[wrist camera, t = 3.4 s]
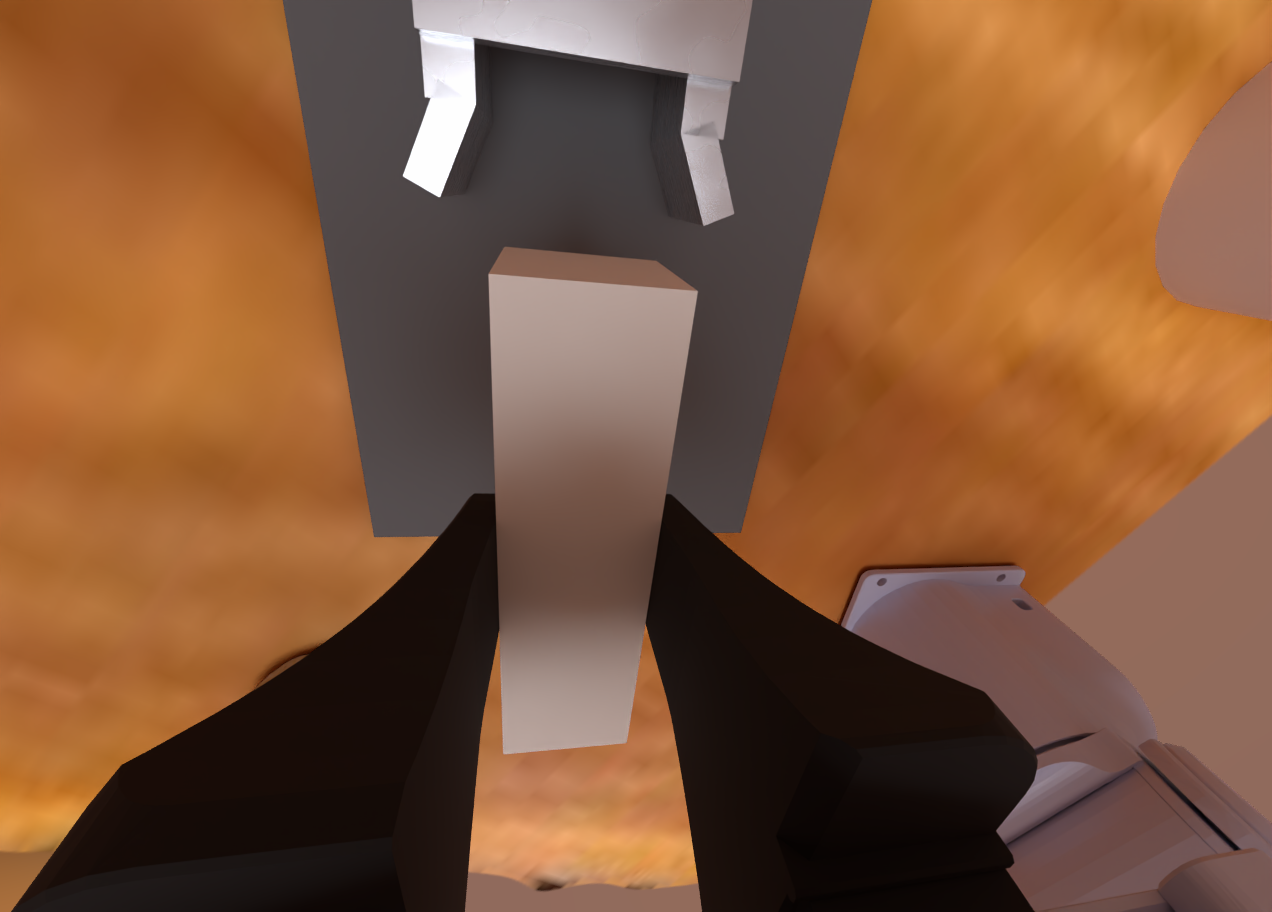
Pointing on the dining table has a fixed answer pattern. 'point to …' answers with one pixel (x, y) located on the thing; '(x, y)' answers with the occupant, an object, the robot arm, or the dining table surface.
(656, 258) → the mat
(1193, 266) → the base with upright slab
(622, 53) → the end cap
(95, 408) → the dining table surface
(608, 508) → the pale grey rectangular bar
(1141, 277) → the dining table surface
